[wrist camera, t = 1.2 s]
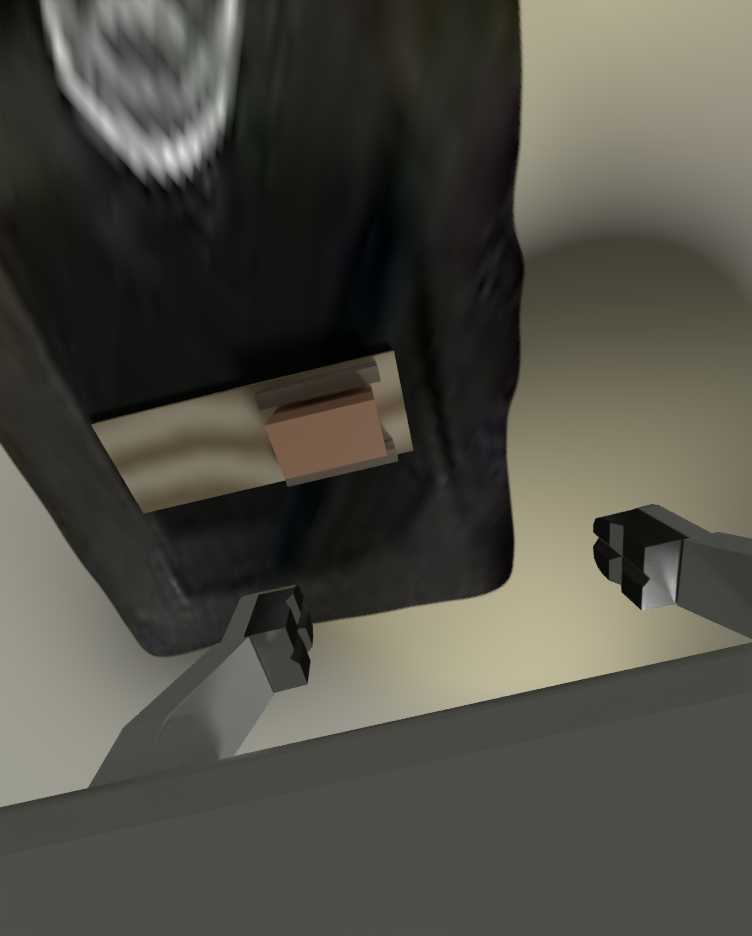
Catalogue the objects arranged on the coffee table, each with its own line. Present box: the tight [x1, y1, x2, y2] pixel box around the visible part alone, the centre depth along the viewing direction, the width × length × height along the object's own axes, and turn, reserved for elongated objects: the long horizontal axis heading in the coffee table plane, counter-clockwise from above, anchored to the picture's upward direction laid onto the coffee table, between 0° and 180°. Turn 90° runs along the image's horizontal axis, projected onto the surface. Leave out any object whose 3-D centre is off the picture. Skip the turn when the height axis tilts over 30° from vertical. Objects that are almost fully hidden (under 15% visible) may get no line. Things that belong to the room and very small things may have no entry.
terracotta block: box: [265, 386, 387, 479], centre depth 35 cm, size 6×10×6 cm, turn 103°
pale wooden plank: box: [92, 350, 413, 513], centre depth 38 cm, size 11×32×4 cm, turn 103°
